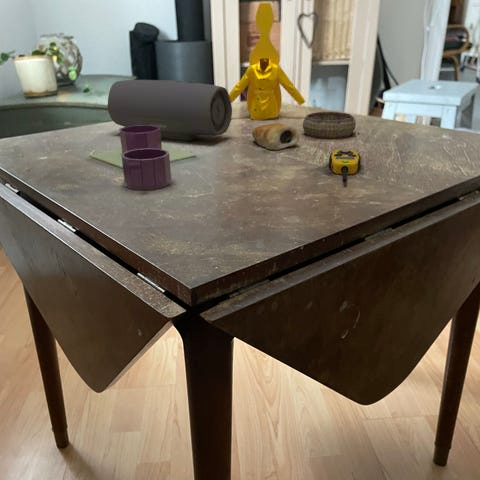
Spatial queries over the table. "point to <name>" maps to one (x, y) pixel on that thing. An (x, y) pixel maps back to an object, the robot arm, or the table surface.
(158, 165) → the ribbed purple cap
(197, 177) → the table surface
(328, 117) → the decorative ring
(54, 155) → the table surface
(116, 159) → the placemat
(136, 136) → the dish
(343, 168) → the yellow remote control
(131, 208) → the table surface
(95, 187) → the table surface
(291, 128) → the pastry
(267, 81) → the yellow coat
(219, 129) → the bluetooth speaker
